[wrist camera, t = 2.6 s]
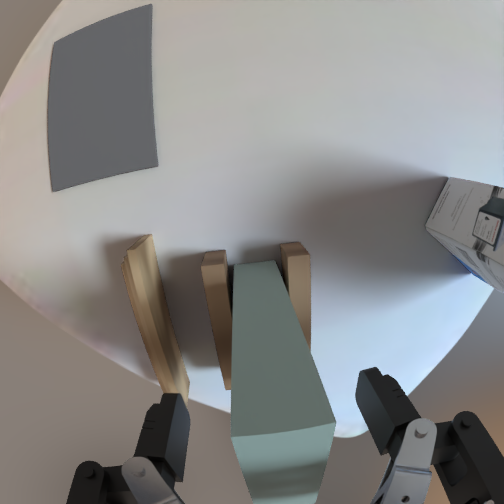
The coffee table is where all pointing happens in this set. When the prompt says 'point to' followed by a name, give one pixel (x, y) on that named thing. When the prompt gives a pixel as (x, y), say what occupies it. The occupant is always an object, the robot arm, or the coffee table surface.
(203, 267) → the walnut slot block
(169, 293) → the coffee table surface
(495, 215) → the ink box
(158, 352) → the wooden bar
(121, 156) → the rubber mat
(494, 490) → the robot arm
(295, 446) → the grey-green rectangular block
